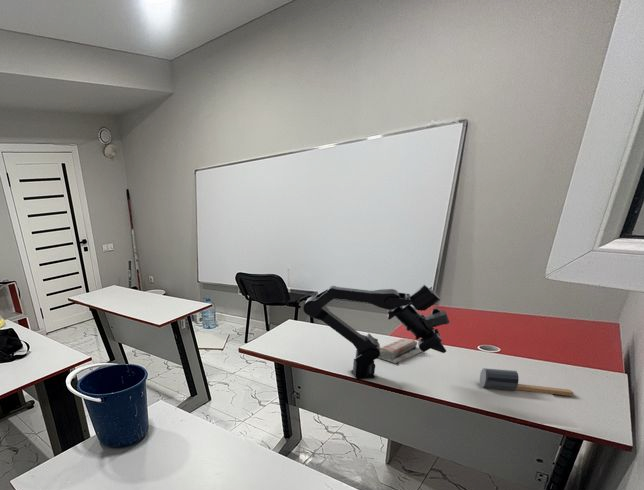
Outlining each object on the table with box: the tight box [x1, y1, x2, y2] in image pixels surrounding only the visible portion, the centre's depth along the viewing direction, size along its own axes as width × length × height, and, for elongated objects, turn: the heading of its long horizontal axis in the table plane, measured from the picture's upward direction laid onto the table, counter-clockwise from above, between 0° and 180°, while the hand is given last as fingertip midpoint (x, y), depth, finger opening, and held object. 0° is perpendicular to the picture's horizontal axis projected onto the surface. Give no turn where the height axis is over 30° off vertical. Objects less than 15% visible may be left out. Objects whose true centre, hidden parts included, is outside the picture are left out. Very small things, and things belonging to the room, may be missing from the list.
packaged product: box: [377, 338, 423, 364], centre depth 147 cm, size 18×5×10 cm
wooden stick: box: [515, 383, 574, 397], centre depth 113 cm, size 1×2×19 cm
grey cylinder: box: [479, 368, 520, 391], centre depth 116 cm, size 6×6×8 cm
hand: (445, 351), depth 120 cm, fingers closed
